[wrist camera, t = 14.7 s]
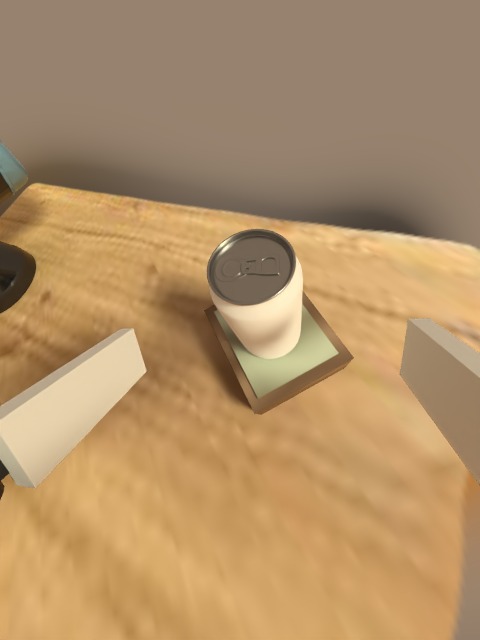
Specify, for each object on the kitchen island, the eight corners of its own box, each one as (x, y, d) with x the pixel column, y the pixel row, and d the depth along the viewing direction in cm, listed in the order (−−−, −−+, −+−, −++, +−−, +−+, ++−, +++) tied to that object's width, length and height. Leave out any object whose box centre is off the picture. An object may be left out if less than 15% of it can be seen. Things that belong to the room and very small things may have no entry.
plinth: (217, 325, 33) (203, 309, 28) (285, 286, 33) (283, 264, 28) (261, 414, 27) (253, 413, 22) (344, 368, 27) (354, 356, 22)
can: (242, 304, 27) (205, 229, 16) (299, 302, 26) (301, 217, 15) (238, 360, 25) (194, 313, 14) (302, 360, 23) (306, 309, 13)
